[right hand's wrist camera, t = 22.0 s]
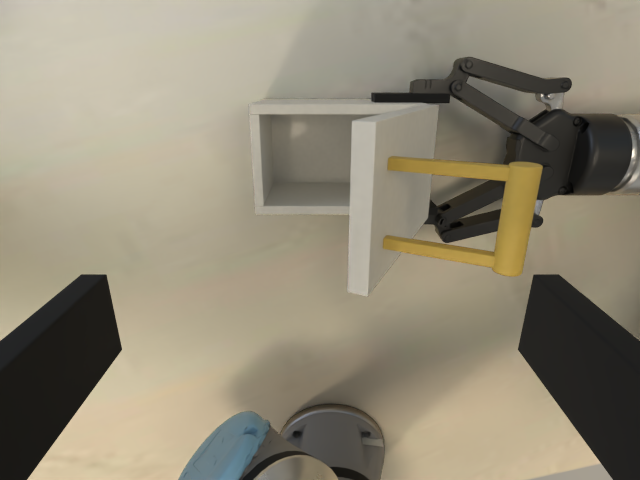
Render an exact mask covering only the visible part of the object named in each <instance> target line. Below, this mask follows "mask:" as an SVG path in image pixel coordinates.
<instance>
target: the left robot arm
mask: <svg viewBox="0 0 640 480" xmlns="http://www.w3.org/2000/svg"><path fill="white" fill-rule="evenodd" d="M469 76H471V77H475V78H478V79H481V80H485V81H488V82H492V83H495V84H498V85H502V86H505V87H508V88H512V89H515V90H519V91H522V92H526V93H536V95H535V96H536V100H537V101H538V102H542V103H544V104H545V105H546V110H544V111H542V112H541V113H539V114H538V115H536V116H535V117H533V118H532V119H530V120H529V121H528V120H526V119H524V118H522V117H520V116H518V115H516V114H515V113H513V112H512V111H510V110H508V109H507V108H505V107H504V106H502V105H500V104H499V103H497V102H496V101H494V100H493V99H491V98H489V97H488V96H486V95H485V94H483V93H481V92H480V91H478V90H477V89H475V88H473V87H472V86H470V85H469V84H467V83H466V82H467V79H468V77H469ZM571 86H572V81H571V80H570V79H569V78H543V79H542V78H539V77H536V76H532V75H529V74H526V73H523V72H519V71H516V70H513V69H509V68H506V67H503V66H499V65H496V64H493V63H489V62H486V61H483V60H479V59H476V58H473V57H465V58H459V59H457V60H456V61H455V62H454V64H453V70H452V72H451V74H450V76H449V77H447V78H446V79H442V80H418V79H416V80H414V81H411V82H410V93H372V96H371V101H372V102H375V103H449V102H450V95H451V96H453V97H454V98H456V99H457V100H459V101H461V102H462V103H464V104H466V105H467V106H469V107H470V108H472V109H474V110H475V111H477V112H479V113H480V114H482V115H483V116H485V117H487V118H488V119H490V120H492V121H493V122H495V123H496V124H498V125H500V127H502V128H503V129H505V130H507V131H508V132H510V133H511V136H510V137H507V143H506V148H507V155H506V157H505V159H504V162H503V165H509V163H512V162H531V163H537V164H540V165H542V166H543V169H542V174H541V179H540V184H539V189H538V194H537V199H536V204H535V209H534V215H533V220H532V225H531V227H539V226H541V225H542V223H543V218H542V217H541V216H539V213H540V210H541V207H542V203H543V200H546V199H548V198H550V197H552V196H556V195H603V194H606V195H640V114H618V115H614V114H570V113H568V112H566V111H565V110H563V109H562V108H563V99H564V92H567V91H568V90H569V89H570V88H571ZM505 184H506V181H499V180H489V181H487V182H485V183H483V184H481V185H479V186H477V187H475V188H473V189H471V190H469V191H467V192H465V193H463V194H461V195H459V196H457V197H455V198H453V199H451V200H449V201H447V202H445V203H443V204H441V205H439V206H436V205H435V204H434V203H433V202H432V201H431V200H430V202H429V212H428V219H427V220H426V221H425V222H424V224H433V225H435V231H436V233H437V234H438V235H439V237H440V238H441V239H442V241H443V242H445V243H449V242H454V241H458V240H462V239H466V238H470V237H475V236H479V235H483V234H487V233H491V232H496V231H498V226H499V220H500V214H501V209H499V210H495V211H490V212H486V213H482V214H478V215H474V216H470V217H466V218H462V219H459V218H461V217H463V216H465V215H468V214H470V213H472V212H474V211H476V210H478V209H480V208H482V207H484V206H486V205H488V204H490V203H492V202H494V201H496V200H498V199H501V198H503V196H504V190H505ZM457 219H458V220H457ZM384 452H385V449H384V442H383V437H382V433H381V431H380V429H379V427H378V425H377V424H376V423H375V421H374V420H373V419H372V418H370V417H369V416H368V415H367V414H365V413H364V412H362V411H360V410H358V409H355V408H353V407H349V406H345V405H339V404H324V405H318V406H314V407H310V408H307V409H305V410H303V411H301V412H299V413H297V414H296V415H295V416H293V417H292V418H291V419H290V420H289V421H288V422H287V423H286V424H285V426H284V427H283V429H282V431H281V433H280V435H279V434H278V433H277V432H276V431H275V430H274V429H273V428H272V427H271V426H270V422H269V421H268V420H264V419H263V418H262V417H260V416H259V415H258V414H256V413H254V412H251V411H245V412H241V413H238V414H236V415H234V416H232V417H231V418H229V419H228V420H226V421H225V422H224V423H223V424H221V425H220V426H219V427H218V428H217V429H216V430H215V431H214V432H213V433H212V434H211V435H210V436H209V437H208V438H207V439H206V440H205V441H204V442H203V443H202V445H201V446H200V447H199V448H198V450H197V451H196V452H195V454H194V455H193V456H192V458H191V459H190V461H189V462H188V464H187V465H186V467H185V468H184V470H183V472H182V473H181V475H180V477H179V479H178V480H380V478H381V473H382V468H383V463H384Z"/></svg>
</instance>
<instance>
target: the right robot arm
mask: <svg viewBox="0 0 640 480" xmlns="http://www.w3.org/2000/svg"><path fill="white" fill-rule="evenodd" d="M121 350H122V347H121V343H120V338H119V333H118V328H117V323H116V319H115V314H114V309H113V304H112V299H111V295H110V290H109V285H108V280H107V275H80V276H79V277H78V278H77V279H75V280H74V281H73V282H72V283H71V284H69V285H68V286H67V287H66V288H64V289H63V290H62V291H61V292H60V293H58V294H57V295H56V296H55V297H54V298H52V299H51V300H50V301H49V302H47V303H46V304H45V305H44V306H43V307H41V308H40V309H39V310H38V311H36V312H35V313H34V314H33V315H32V316H30V317H29V318H28V319H27V320H26V321H24V322H23V323H22V324H21V325H19V326H18V327H17V328H16V329H15V330H13V331H12V332H11V333H10V334H8V335H7V336H6V337H5V338H4V339H2V340H1V341H0V480H27V479H28V477H29V476H30V475H31V473H32V472H33V471H34V469H35V468H36V466H37V465H38V464H39V462H40V461H41V460H42V458H43V457H44V456H45V454H46V453H47V451H48V450H49V449H50V447H51V446H52V445H53V443H54V442H55V441H56V439H57V438H58V436H59V435H60V434H61V432H62V431H63V430H64V428H65V427H66V425H67V424H68V423H69V421H70V420H71V419H72V417H73V416H74V415H75V413H76V412H77V410H78V409H79V408H80V406H81V405H82V404H83V402H84V401H85V399H86V398H87V397H88V395H89V394H90V393H91V391H92V390H93V389H94V387H95V386H96V384H97V383H98V382H99V380H100V379H101V378H102V376H103V375H104V373H105V372H106V371H107V369H108V368H109V367H110V365H111V364H112V363H113V361H114V360H115V358H116V357H117V356H118V354H119V353H120V352H121ZM518 350H519V352H520V353H521V354H522V356H523V357H524V358H525V360H526V361H527V363H528V364H529V365H530V367H531V368H532V369H533V371H534V372H535V373H536V375H537V376H538V378H539V379H540V380H541V382H542V383H543V384H544V386H545V387H546V389H547V390H548V391H549V393H550V394H551V395H552V397H553V398H554V399H555V401H556V402H557V404H558V405H559V406H560V408H561V409H562V410H563V412H564V413H565V415H566V416H567V417H568V419H569V420H570V421H571V423H572V424H573V425H574V427H575V428H576V430H577V431H578V432H579V434H580V435H581V436H582V438H583V439H584V441H585V442H586V443H587V445H588V446H589V447H590V449H591V450H592V451H593V453H594V454H595V456H596V457H597V458H598V460H599V461H600V462H601V464H602V465H603V466H604V468H605V469H606V471H607V472H608V473H609V475H610V476H611V477H612V479H613V480H640V341H639V340H638V339H636V338H635V337H634V336H633V335H632V334H630V333H629V332H628V331H627V330H625V329H624V328H623V327H622V326H621V325H619V324H618V323H617V322H616V321H614V320H613V319H612V318H611V317H610V316H608V315H607V314H606V313H605V312H604V311H602V310H601V309H600V308H599V307H597V306H596V305H595V304H594V303H593V302H591V301H590V300H589V299H588V298H586V297H585V296H584V295H583V294H582V293H580V292H579V291H578V290H577V289H576V288H574V287H573V286H572V285H571V284H569V283H568V282H567V281H566V280H565V279H563V278H562V277H561V276H560V275H533V280H532V285H531V290H530V295H529V299H528V304H527V309H526V314H525V319H524V323H523V328H522V333H521V338H520V343H519V347H518Z"/></svg>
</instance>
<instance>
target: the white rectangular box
mask: <svg viewBox="0 0 640 480" xmlns="http://www.w3.org/2000/svg"><path fill="white" fill-rule="evenodd" d="M438 112H439V105H429V104H423V105H419V106H415V107H410V108H406V109H401V110H397V111H393V112H388V113H384V114H380V115H375V116H371V117H366V118H362V119H358V120H353V121H352V139H351V176H350V212H349V248H348V285H347V292H349V293H353V294H358V295H362V296H367V297H368V296H369V295H370V293H371V292H372V291H373V289H374V288H375V287H376V285H377V284H378V283H379V281H380V280H381V279H382V277H383V276H384V275H385V274H386V272H387V271H388V270H389V268H390V267H391V266H392V264H393V263H394V262H395V260H396V259H397V258H398V257H399V255H400V254H401V253H402V252H404V253H410V254H416V255H422V256H427V257H433V258H439V259H445V260H451V261H456V262H462V263H468V264H474V265H479V266H485V267H491V268H492V270H493V271H494V272H496V273H498V274H501V275H504V276H519V275H521V273H522V271H523V265H524V260H525V255H526V250H527V245H528V240H529V235H530V230H531V225H532V220H533V215H534V209H535V204H536V199H537V194H538V189H539V184H540V179H541V174H542V169H543V166H542V165H540V164H537V163H531V162H512V163H509V165H502V164H489V163H476V162H463V161H451V160H438V159H434V152H435V142H436V132H437V122H438ZM432 174H434V175H445V176H455V177H466V178H477V179H488V180H499V181H506V184H505V190H504V196H503V202H502V208H501V214H500V220H499V226H498V232H497V238H496V244H495V250H494V252H491V251H485V250H478V249H472V248H466V247H459V246H453V245H447V244H440V243H434V242H428V241H421V240H415V239H412V238H413V237H414V236H415V234H416V233H417V232H418V230H419V229H420V228H421V226H422V225H423V224H424V222H425V221H426V220H427V219H428V212H429V202H430V192H431V182H432Z"/></svg>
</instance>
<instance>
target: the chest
mask: <svg viewBox="0 0 640 480" xmlns="http://www.w3.org/2000/svg"><path fill="white" fill-rule="evenodd" d="M423 104H426V103H375V102H372V101H371V99H262V100H259V101H256V102H254V103H251V104H249V114H250V115H249V120H250V137H251V154H252V170H253V187H254V204H255V215H349V212H350V176H351V139H352V121H353V120H358V119H362V118H366V117H371V116H375V115H380V114H384V113H388V112H393V111H397V110H401V109H406V108H410V107H415V106H419V105H423Z"/></svg>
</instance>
